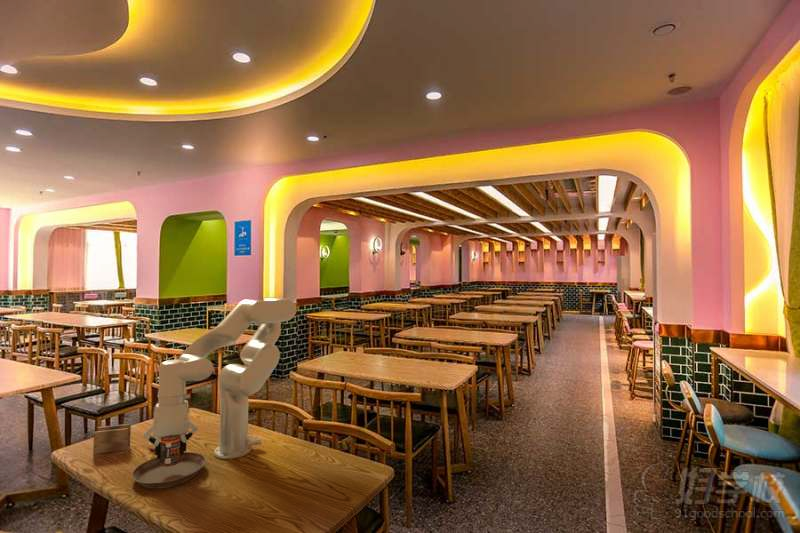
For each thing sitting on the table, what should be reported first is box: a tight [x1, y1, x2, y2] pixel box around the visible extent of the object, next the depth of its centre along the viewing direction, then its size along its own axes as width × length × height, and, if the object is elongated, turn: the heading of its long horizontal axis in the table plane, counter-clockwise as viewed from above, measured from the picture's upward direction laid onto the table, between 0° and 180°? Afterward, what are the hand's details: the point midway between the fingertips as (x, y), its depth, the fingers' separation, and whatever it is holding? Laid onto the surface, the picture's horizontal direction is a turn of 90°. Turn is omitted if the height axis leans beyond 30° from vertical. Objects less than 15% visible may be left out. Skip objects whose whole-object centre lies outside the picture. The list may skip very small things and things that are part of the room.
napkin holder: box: [92, 423, 132, 458], centre depth 147 cm, size 10×5×9 cm, turn 113°
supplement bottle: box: [160, 435, 182, 467], centre depth 132 cm, size 6×6×11 cm
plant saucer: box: [131, 451, 206, 489], centre depth 132 cm, size 21×21×3 cm
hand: (170, 454), depth 132 cm, fingers closed on supplement bottle, 6 cm apart
